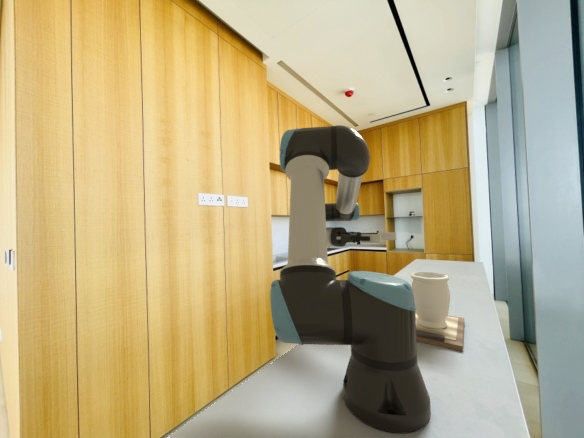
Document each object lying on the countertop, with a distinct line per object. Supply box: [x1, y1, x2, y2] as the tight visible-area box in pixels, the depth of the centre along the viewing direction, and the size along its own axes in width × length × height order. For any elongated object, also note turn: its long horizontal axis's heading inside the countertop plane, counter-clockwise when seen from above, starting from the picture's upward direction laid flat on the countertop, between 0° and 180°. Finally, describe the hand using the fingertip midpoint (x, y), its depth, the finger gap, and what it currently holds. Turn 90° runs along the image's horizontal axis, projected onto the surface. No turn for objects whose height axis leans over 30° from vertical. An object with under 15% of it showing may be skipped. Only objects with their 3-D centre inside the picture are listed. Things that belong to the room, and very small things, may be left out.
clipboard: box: [415, 312, 465, 352], centre depth 76 cm, size 22×16×2 cm
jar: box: [410, 271, 451, 329], centre depth 76 cm, size 11×10×15 cm
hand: (388, 237), depth 83 cm, fingers open, 13 cm apart
